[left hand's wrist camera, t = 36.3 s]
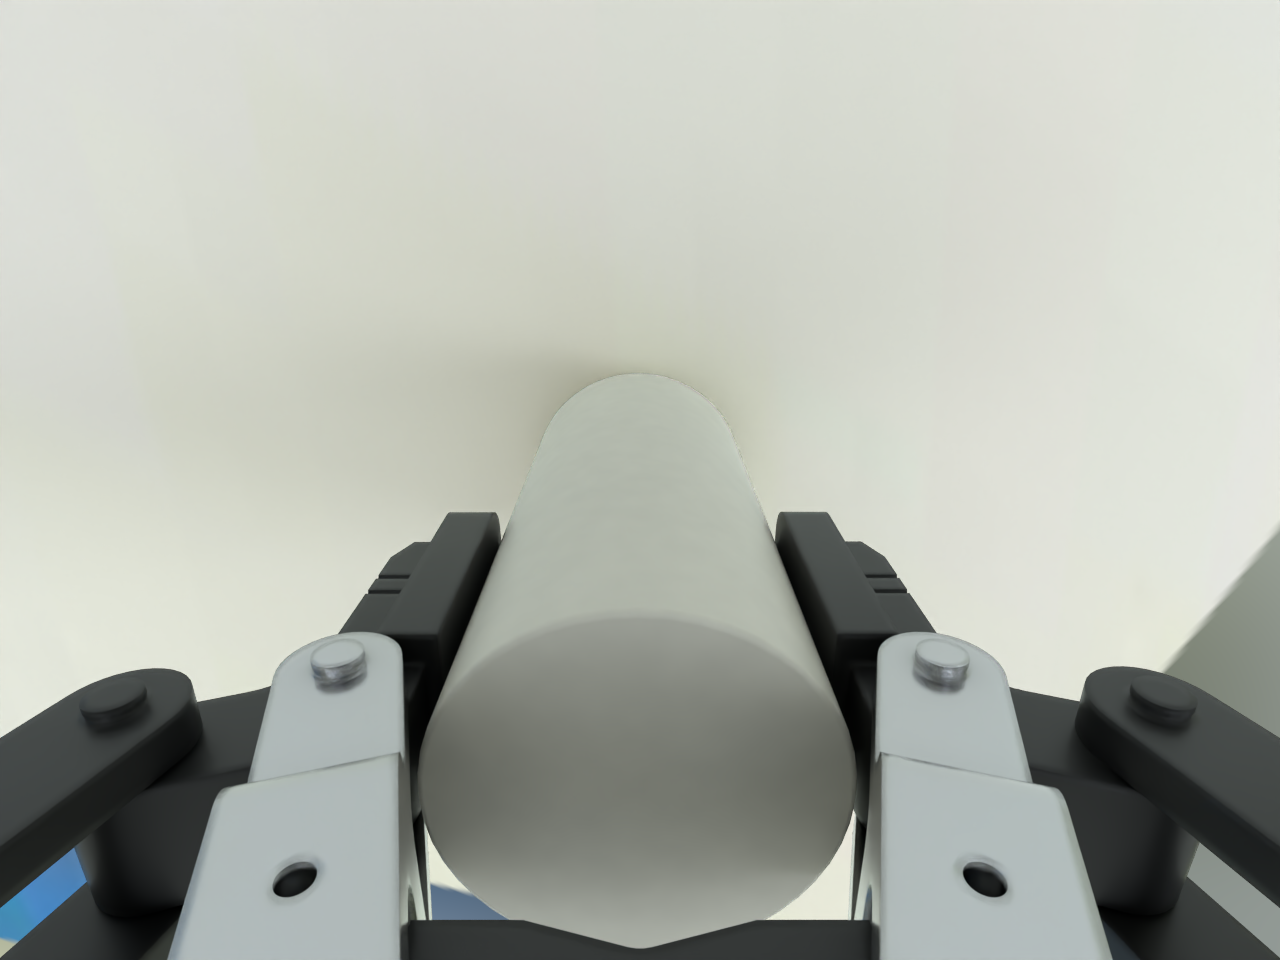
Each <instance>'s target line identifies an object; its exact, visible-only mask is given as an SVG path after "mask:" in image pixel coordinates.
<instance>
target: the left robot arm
mask: <svg viewBox="0 0 1280 960" xmlns="http://www.w3.org/2000/svg"><path fill="white" fill-rule="evenodd" d="M500 543H501V534H500V524H499V519H498V516H497V514H496V513H495V512H450V513H448V514H447V516H446V517H445V519H444V521H443V522H442V524H441V526H440V527H439V529H438V531H437V532H436V534H435V536H434V537H433V539H432V541H431V542H414V543H413V544H411V545H409V546H408V547H406V548H405V549H403V550H402V551H400V552H399V553H397V554H395V555H394V556H392V557H391V558H390V559H389V561H388V562H387V564H386V565H385V567H384V568H383V570H382V571H381V572H380V574H379V578H378V579H376V580H375V581H374V583H373V584H372V585H371V587H370V588H369V590H368V594H365V596H364V597H363V599H362V600H361V601H360V603H359V604H358V606H357V607H356V609H355V610H354V612H353V613H352V614H351V616H350V617H349V619H348V620H347V622H346V623H345V625H344V626H343V628H342V629H341V630H340V632H339V633H338V634H337V635H332V636H329V637H325V638H322V639H319V640H317V641H314V642H311V643H309V644H307V645H305V646H303V647H301V648H300V649H298V650H296V651H295V652H293V653H292V654H291V655H289V656H288V657H287V658H286V659H285V660H284V661H283V662H282V663H281V664H280V665H279V667H278V668H277V670H276V672H275V674H274V677H273V681H272V685H271V686H269V687H266V688H263V689H259V690H255V691H251V692H246V693H241V694H236V695H231V696H226V697H221V698H216V699H211V700H206V701H201V702H197V701H196V697H195V693H194V690H193V686H192V683H191V680H190V679H189V678H188V677H187V676H186V675H185V674H183V673H181V672H179V671H175V670H171V669H162V668H152V669H141V670H135V671H129V672H125V673H121V674H117V675H114V676H111V677H108V678H105V679H102V680H99V681H97V682H94V683H92V684H90V685H88V686H85V687H83V688H81V689H79V690H77V691H76V692H74V693H72V694H70V695H69V696H67V697H65V698H64V699H62V700H60V701H59V702H57V703H56V704H54V705H52V706H51V707H49V708H48V709H46V710H44V711H43V712H41V713H40V714H38V715H36V716H35V717H33V718H32V719H30V720H28V721H27V722H25V723H24V724H22V725H20V726H19V727H17V728H16V729H14V730H12V731H11V732H9V733H8V734H6V735H4V736H3V737H1V738H0V908H1V907H2V906H3V905H4V904H5V903H7V902H8V901H9V900H10V899H12V898H13V897H14V896H15V895H16V894H18V893H19V892H20V891H21V890H23V889H24V888H25V887H26V886H27V885H29V884H30V883H31V882H32V881H34V880H35V879H36V878H37V877H38V876H40V875H41V874H42V873H43V872H44V871H46V870H47V869H48V868H49V867H51V866H52V865H53V864H54V863H55V862H57V861H58V860H59V859H60V858H62V857H63V856H64V855H65V854H66V853H68V852H69V851H70V850H71V849H73V848H75V851H76V854H77V856H78V859H79V862H80V864H81V867H82V870H83V872H84V875H85V878H86V880H87V882H86V883H85V884H84V885H83V886H82V887H80V888H79V889H78V890H77V891H76V892H75V893H74V894H72V895H71V896H70V897H69V898H68V899H67V900H66V901H65V902H63V903H62V904H61V905H60V906H59V907H58V908H57V909H55V910H54V911H53V912H52V913H51V914H50V915H49V916H47V917H46V918H45V919H44V920H43V921H42V922H41V923H39V924H38V925H37V926H36V927H35V928H34V929H33V930H31V931H30V932H29V933H28V934H27V935H26V936H25V937H24V938H22V939H21V940H20V941H19V942H18V943H17V944H16V945H14V946H13V947H12V948H11V949H10V950H9V951H8V952H6V953H5V954H4V955H3V956H2V957H1V958H0V960H1280V958H1279V957H1278V956H1277V955H1276V954H1275V953H1274V952H1272V951H1271V950H1270V949H1269V948H1268V947H1267V946H1266V945H1264V944H1263V943H1262V942H1261V941H1260V940H1259V939H1257V938H1256V937H1255V936H1254V935H1253V934H1252V933H1251V932H1250V931H1248V930H1247V929H1246V928H1245V927H1244V926H1243V925H1242V924H1241V923H1239V922H1238V921H1237V920H1236V919H1235V918H1234V917H1233V916H1231V915H1230V914H1229V913H1228V912H1227V911H1226V910H1225V909H1223V908H1222V907H1221V906H1220V905H1219V904H1218V903H1217V902H1215V901H1214V900H1213V899H1212V898H1211V897H1210V896H1209V895H1207V894H1206V893H1205V892H1204V891H1203V890H1202V889H1201V888H1200V887H1198V886H1197V885H1196V884H1195V883H1194V882H1193V881H1192V880H1190V879H1189V878H1188V877H1187V875H1188V872H1189V869H1190V866H1191V864H1192V861H1193V858H1194V856H1195V853H1196V850H1197V848H1198V845H1199V842H1200V843H1201V844H1203V845H1204V846H1205V847H1206V848H1207V849H1209V850H1210V851H1211V852H1212V853H1214V854H1215V855H1216V856H1217V857H1218V858H1220V859H1221V860H1222V861H1223V862H1225V863H1226V864H1227V865H1228V866H1229V867H1231V868H1232V869H1233V870H1234V871H1235V872H1237V873H1238V874H1239V875H1240V876H1242V877H1243V878H1244V879H1245V880H1246V881H1248V882H1249V883H1250V884H1251V885H1253V886H1254V887H1255V888H1256V889H1258V890H1259V891H1260V892H1261V893H1262V894H1264V895H1265V896H1266V897H1267V898H1268V899H1270V900H1271V901H1272V902H1273V903H1275V904H1276V905H1277V906H1278V907H1279V908H1280V738H1279V737H1277V736H1276V735H1274V734H1272V733H1271V732H1269V731H1268V730H1266V729H1264V728H1263V727H1261V726H1260V725H1258V724H1256V723H1255V722H1253V721H1252V720H1250V719H1248V718H1247V717H1245V716H1244V715H1242V714H1240V713H1239V712H1237V711H1236V710H1234V709H1232V708H1231V707H1229V706H1228V705H1226V704H1224V703H1223V702H1221V701H1219V700H1218V699H1216V698H1215V697H1213V696H1211V695H1210V694H1208V693H1206V692H1205V691H1203V690H1201V689H1199V688H1198V687H1196V686H1193V685H1191V684H1189V683H1187V682H1185V681H1182V680H1180V679H1177V678H1175V677H1172V676H1169V675H1166V674H1163V673H1160V672H1156V671H1151V670H1147V669H1141V668H1136V667H1124V666H1120V667H1107V668H1102V669H1099V670H1096V671H1094V672H1092V673H1091V674H1090V675H1089V676H1088V677H1087V679H1086V681H1085V684H1084V688H1083V692H1082V695H1081V699H1080V702H1079V701H1074V700H1069V699H1063V698H1058V697H1053V696H1048V695H1043V694H1038V693H1033V692H1028V691H1023V690H1019V689H1015V688H1011V687H1009V685H1008V681H1007V677H1006V674H1005V672H1004V670H1003V668H1002V667H1001V665H1000V664H999V663H998V662H997V661H996V660H995V659H994V658H993V657H992V656H991V655H989V654H988V653H987V652H985V651H984V650H982V649H980V648H979V647H977V646H975V645H973V644H971V643H969V642H966V641H963V640H961V639H958V638H955V637H951V636H948V635H943V634H938V633H936V632H935V630H934V629H933V627H932V626H931V624H930V623H929V621H928V620H927V618H926V617H925V615H924V614H923V612H922V611H921V609H920V608H919V607H918V605H917V604H916V602H915V601H914V599H913V598H912V596H911V595H910V593H907V589H906V587H905V586H904V584H903V583H902V582H901V580H900V579H899V578H897V574H896V573H895V571H894V570H893V568H892V567H891V565H890V564H889V562H888V561H887V559H886V558H885V557H884V556H883V555H881V554H880V553H878V552H876V551H875V550H873V549H872V548H870V547H869V546H867V545H866V544H864V543H863V542H845V541H844V539H843V537H842V536H841V534H840V532H839V531H838V529H837V527H836V526H835V524H834V522H833V521H832V519H831V517H830V516H829V514H828V513H827V512H780V513H779V515H778V519H777V525H776V535H775V544H776V546H777V549H778V552H779V554H780V557H781V559H782V562H783V564H784V567H785V569H786V572H787V575H788V577H789V580H790V582H791V585H792V587H793V590H794V592H795V595H796V598H797V600H798V603H799V605H800V608H801V610H802V613H803V615H804V618H805V621H806V623H807V626H808V628H809V631H810V633H811V636H812V638H813V641H814V643H815V646H816V649H817V651H818V654H819V656H820V659H821V661H822V664H823V666H824V669H825V672H826V674H827V677H828V679H829V682H830V684H831V687H832V689H833V692H834V695H835V697H836V700H837V702H838V705H839V707H840V710H841V712H842V715H843V718H844V720H845V723H846V725H847V728H848V730H849V734H850V738H851V741H852V745H853V748H854V752H855V760H856V770H857V784H856V798H855V803H854V807H853V809H854V811H855V820H854V827H853V837H852V855H851V874H850V892H849V910H848V920H755V921H751V922H747V923H743V924H739V925H735V926H732V927H728V928H724V929H720V930H716V931H712V932H708V933H704V934H701V935H697V936H693V937H689V938H685V939H681V940H677V941H674V942H670V943H666V944H662V945H658V946H654V947H649V948H631V947H626V946H622V945H618V944H614V943H610V942H606V941H603V940H599V939H595V938H591V937H587V936H583V935H579V934H576V933H572V932H568V931H564V930H560V929H556V928H552V927H548V926H545V925H541V924H537V923H533V922H529V921H525V920H432V911H431V892H430V874H429V856H428V837H427V827H426V825H425V822H424V819H423V814H422V810H421V805H420V801H419V794H418V774H417V772H418V764H419V756H420V749H421V746H422V742H423V739H424V736H425V732H426V729H427V726H428V724H429V721H430V719H431V716H432V714H433V711H434V709H435V706H436V704H437V701H438V699H439V696H440V694H441V691H442V689H443V686H444V684H445V681H446V679H447V676H448V674H449V671H450V669H451V666H452V664H453V661H454V659H455V656H456V654H457V651H458V649H459V646H460V644H461V641H462V639H463V636H464V634H465V631H466V628H467V626H468V623H469V621H470V618H471V616H472V613H473V611H474V608H475V606H476V603H477V601H478V598H479V596H480V593H481V591H482V588H483V586H484V583H485V581H486V578H487V576H488V573H489V571H490V568H491V566H492V563H493V561H494V558H495V556H496V553H497V551H498V548H499V546H500Z"/></svg>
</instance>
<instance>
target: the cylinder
mask: <svg viewBox="0 0 1280 960" xmlns="http://www.w3.org/2000/svg"><path fill="white" fill-rule="evenodd" d="M417 774H418V794H419V801H420V805H421V810H422V814H423V819H424V822H425V825H426V827H427V830H428V833H429V835H430V838H431V840H432V842H433V844H434V846H435V848H436V849H437V851H438V853H439V854H440V856H441V858H442V860H443V861H444V863H445V864H446V865H447V866H448V868H449V869H450V870H451V872H452V873H453V874H454V875H455V877H456V878H457V879H458V880H459V881H460V882H461V883H462V884H463V885H464V886H465V887H466V888H467V889H468V890H469V891H470V892H471V893H472V894H473V895H474V896H475V897H477V898H478V899H479V900H481V901H482V902H483V903H485V904H486V905H487V906H489V907H490V908H491V909H493V910H494V911H496V912H497V913H499V914H501V915H502V916H504V917H506V918H507V919H509V920H525V921H529V922H533V923H537V924H541V925H545V926H548V927H552V928H556V929H560V930H564V931H568V932H572V933H576V934H579V935H583V936H587V937H591V938H595V939H599V940H603V941H606V942H610V943H614V944H618V945H622V946H626V947H631V948H649V947H654V946H658V945H662V944H666V943H670V942H674V941H677V940H681V939H685V938H689V937H693V936H697V935H701V934H704V933H708V932H712V931H716V930H720V929H724V928H728V927H732V926H735V925H739V924H743V923H747V922H751V921H755V920H765V919H767V918H769V917H771V916H772V915H774V914H776V913H777V912H779V911H781V910H782V909H783V908H785V907H786V906H787V905H789V904H790V903H791V902H793V901H794V900H795V899H797V898H798V897H799V896H800V895H801V894H802V893H803V892H804V891H805V890H806V889H807V888H809V887H810V886H811V885H812V884H813V883H814V882H815V881H816V880H817V878H818V877H819V876H820V875H821V873H822V872H823V871H824V870H825V868H826V867H827V866H828V865H829V863H830V862H831V860H832V859H833V857H834V855H835V854H836V852H837V850H838V849H839V847H840V845H841V843H842V841H843V839H844V836H845V834H846V831H847V829H848V826H849V824H850V820H851V816H852V812H853V807H854V803H855V798H856V784H857V770H856V760H855V752H854V748H853V745H852V741H851V738H850V734H849V730H848V728H847V725H846V723H845V720H844V718H843V715H842V712H841V710H840V707H839V705H838V702H837V700H836V697H835V695H834V692H833V689H832V687H831V684H830V682H829V679H828V677H827V674H826V672H825V669H824V666H823V664H822V661H821V659H820V656H819V654H818V651H817V649H816V646H815V643H814V641H813V638H812V636H811V633H810V631H809V628H808V626H807V623H806V621H805V618H804V615H803V613H802V610H801V608H800V605H799V603H798V600H797V598H796V595H795V592H794V590H793V587H792V585H791V582H790V580H789V577H788V575H787V572H786V569H785V567H784V564H783V562H782V559H781V557H780V554H779V552H778V549H777V546H776V544H775V541H774V539H773V536H772V534H771V531H770V529H769V526H768V524H767V521H766V518H765V516H764V513H763V511H762V508H761V506H760V503H759V501H758V498H757V495H756V493H755V490H754V488H753V485H752V483H751V480H750V478H749V475H748V472H747V470H746V467H745V465H744V462H743V460H742V457H741V455H740V452H739V449H738V447H737V444H736V442H735V439H734V437H733V434H732V432H731V430H730V428H729V426H728V424H727V422H726V421H725V419H724V418H723V416H722V414H721V413H720V412H719V411H718V410H717V408H716V407H715V406H714V405H713V404H712V403H711V402H710V401H709V400H708V399H707V398H706V397H704V396H703V395H702V394H701V393H699V392H698V391H696V390H695V389H693V388H692V387H690V386H688V385H686V384H684V383H682V382H680V381H677V380H674V379H671V378H668V377H664V376H660V375H655V374H644V373H633V374H622V375H617V376H612V377H609V378H605V379H602V380H599V381H597V382H595V383H593V384H591V385H589V386H587V387H585V388H583V389H582V390H580V391H579V392H577V393H576V394H575V395H573V396H572V397H571V398H570V399H569V400H568V401H566V402H565V403H564V404H563V406H562V407H561V408H560V409H559V410H558V411H557V412H556V414H555V415H554V417H553V418H552V420H551V421H550V423H549V425H548V427H547V429H546V431H545V433H544V436H543V438H542V441H541V443H540V446H539V448H538V451H537V453H536V456H535V458H534V461H533V463H532V466H531V468H530V471H529V473H528V476H527V478H526V481H525V483H524V486H523V488H522V491H521V493H520V496H519V498H518V501H517V503H516V506H515V508H514V511H513V513H512V516H511V518H510V521H509V523H508V526H507V528H506V531H505V533H504V536H503V538H502V541H501V543H500V546H499V548H498V551H497V553H496V556H495V558H494V561H493V563H492V566H491V568H490V571H489V573H488V576H487V578H486V581H485V583H484V586H483V588H482V591H481V593H480V596H479V598H478V601H477V603H476V606H475V608H474V611H473V613H472V616H471V618H470V621H469V623H468V626H467V628H466V631H465V634H464V636H463V639H462V641H461V644H460V646H459V649H458V651H457V654H456V656H455V659H454V661H453V664H452V666H451V669H450V671H449V674H448V676H447V679H446V681H445V684H444V686H443V689H442V691H441V694H440V696H439V699H438V701H437V704H436V706H435V709H434V711H433V714H432V716H431V719H430V721H429V724H428V726H427V729H426V732H425V736H424V739H423V742H422V746H421V749H420V756H419V764H418V772H417Z"/></svg>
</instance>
